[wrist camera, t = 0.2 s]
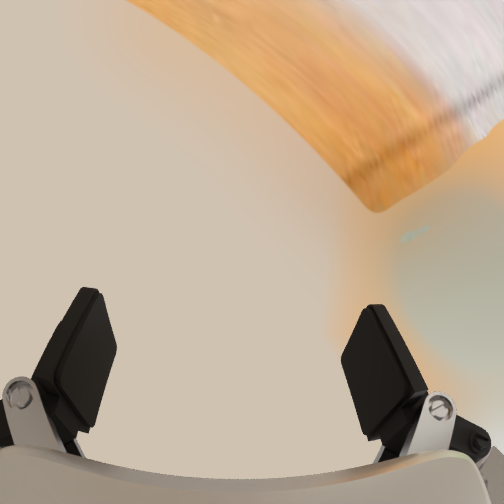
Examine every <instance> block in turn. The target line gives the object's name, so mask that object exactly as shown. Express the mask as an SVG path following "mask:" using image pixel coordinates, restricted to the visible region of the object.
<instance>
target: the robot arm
mask: <svg viewBox="0 0 504 504" xmlns="http://www.w3.org/2000/svg"><path fill="white" fill-rule="evenodd" d="M116 350H117V345H116V341H115V338H114V334H113V331H112V327H111V324H110V320H109V317H108V313H107V309H106V305H105V301H104V297H103V295H102V294H101V293H99V291H98V289H94V288H87V287H82V288H81V289H80V290H79V292H78V294H77V296H76V297H75V299H74V300H73V302H72V304H71V306H70V307H69V309H68V311H67V313H66V314H65V316H64V318H63V320H62V321H60V323H59V324H58V326H57V328H56V329H55V331H54V333H53V335H52V337H51V339H50V341H49V343H48V345H47V347H46V348H45V350H44V352H43V354H42V356H41V359H40V361H39V363H38V365H37V367H36V369H35V371H34V373H33V375H32V378H31V379H29V378H27V377H17V378H14V379H12V380H10V381H9V382H8V383H7V385H6V386H5V388H4V390H3V399H2V400H0V504H504V455H503V454H502V453H501V452H500V451H499V450H498V449H497V448H496V447H495V446H493V447H491V439H490V436H489V434H488V433H487V432H486V430H484V429H482V428H481V427H479V426H477V425H475V424H473V423H471V422H469V421H467V420H465V419H464V418H462V417H460V416H458V415H456V406H455V403H454V401H453V400H452V399H451V398H450V397H449V396H448V395H446V394H445V393H442V392H433V393H430V394H428V392H427V390H428V388H427V386H426V383H425V381H424V379H423V377H422V375H421V373H420V371H419V369H418V367H417V365H416V363H415V361H414V359H413V357H412V355H411V353H410V351H409V350H408V347H407V346H406V344H405V342H404V340H403V338H402V336H401V334H400V332H399V331H398V329H397V327H396V325H395V323H394V322H393V320H392V318H391V316H390V315H389V313H388V311H387V309H386V307H385V306H384V305H382V304H374V305H373V304H372V305H368V306H367V307H366V308H365V309H363V310H362V312H361V315H360V317H359V319H358V321H357V324H356V326H355V328H354V330H353V333H352V335H351V337H350V339H349V341H348V343H347V345H346V347H345V349H344V351H343V353H342V356H341V364H342V367H343V370H344V373H345V376H346V379H347V383H348V386H349V389H350V392H351V396H352V399H353V402H354V405H355V409H356V412H357V415H358V419H359V422H360V426H361V429H362V432H363V434H364V435H367V438H368V441H372V440H377V439H381V442H382V446H381V448H380V450H379V452H378V454H377V457H376V458H375V460H374V462H373V464H370V465H365V466H361V467H356V468H351V469H346V470H340V471H335V472H329V473H323V474H315V475H306V476H298V477H287V478H272V479H208V478H194V477H183V476H173V475H166V474H158V473H152V472H145V471H139V470H135V469H129V468H125V467H120V466H115V465H111V464H106V463H102V462H98V461H94V460H90V459H87V458H86V457H85V456H84V454H83V452H82V450H81V448H80V446H79V444H78V442H77V440H76V437H77V433H78V431H81V432H85V433H89V430H90V427H93V426H94V425H95V422H96V418H97V415H98V411H99V407H100V403H101V400H102V396H103V393H104V390H105V386H106V383H107V380H108V377H109V373H110V370H111V367H112V364H113V361H114V358H115V355H116Z"/></svg>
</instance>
